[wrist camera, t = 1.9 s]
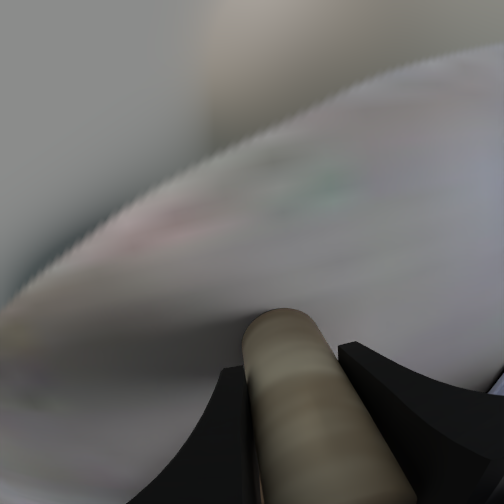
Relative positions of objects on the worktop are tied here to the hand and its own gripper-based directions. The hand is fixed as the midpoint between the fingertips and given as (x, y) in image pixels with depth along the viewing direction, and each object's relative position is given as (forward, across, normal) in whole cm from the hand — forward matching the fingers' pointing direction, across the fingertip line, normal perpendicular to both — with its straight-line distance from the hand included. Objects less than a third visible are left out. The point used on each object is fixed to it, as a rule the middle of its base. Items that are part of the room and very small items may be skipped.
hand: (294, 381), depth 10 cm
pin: (+2, 0, 0) cm, 2 cm away
